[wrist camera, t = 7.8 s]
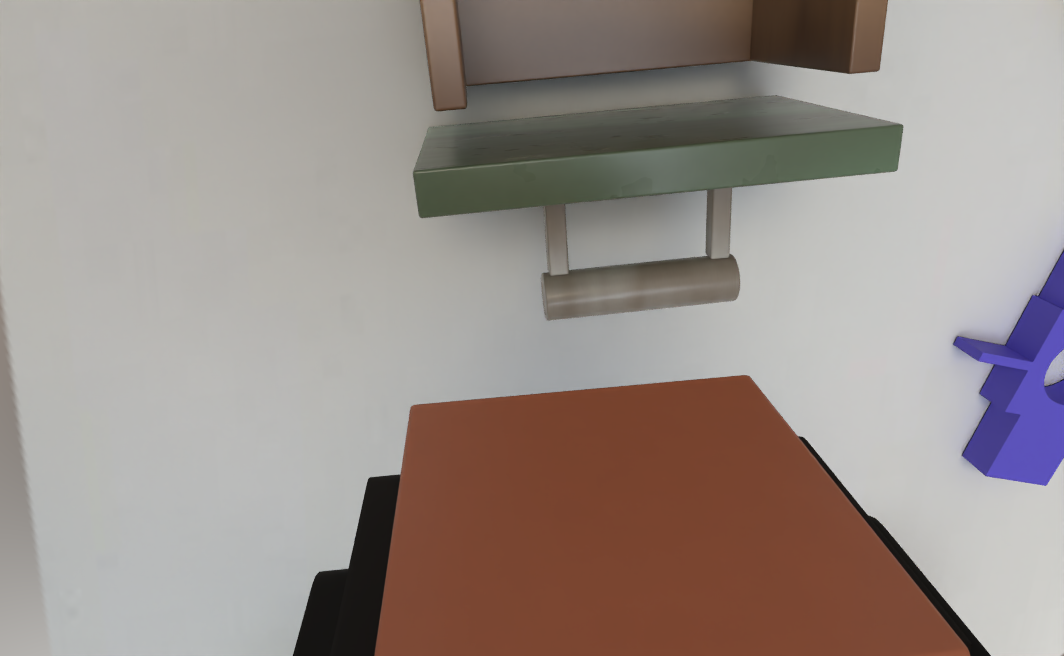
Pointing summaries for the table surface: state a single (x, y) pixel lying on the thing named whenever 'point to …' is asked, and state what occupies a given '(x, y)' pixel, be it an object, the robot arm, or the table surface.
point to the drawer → (642, 124)
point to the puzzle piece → (1023, 393)
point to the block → (636, 534)
